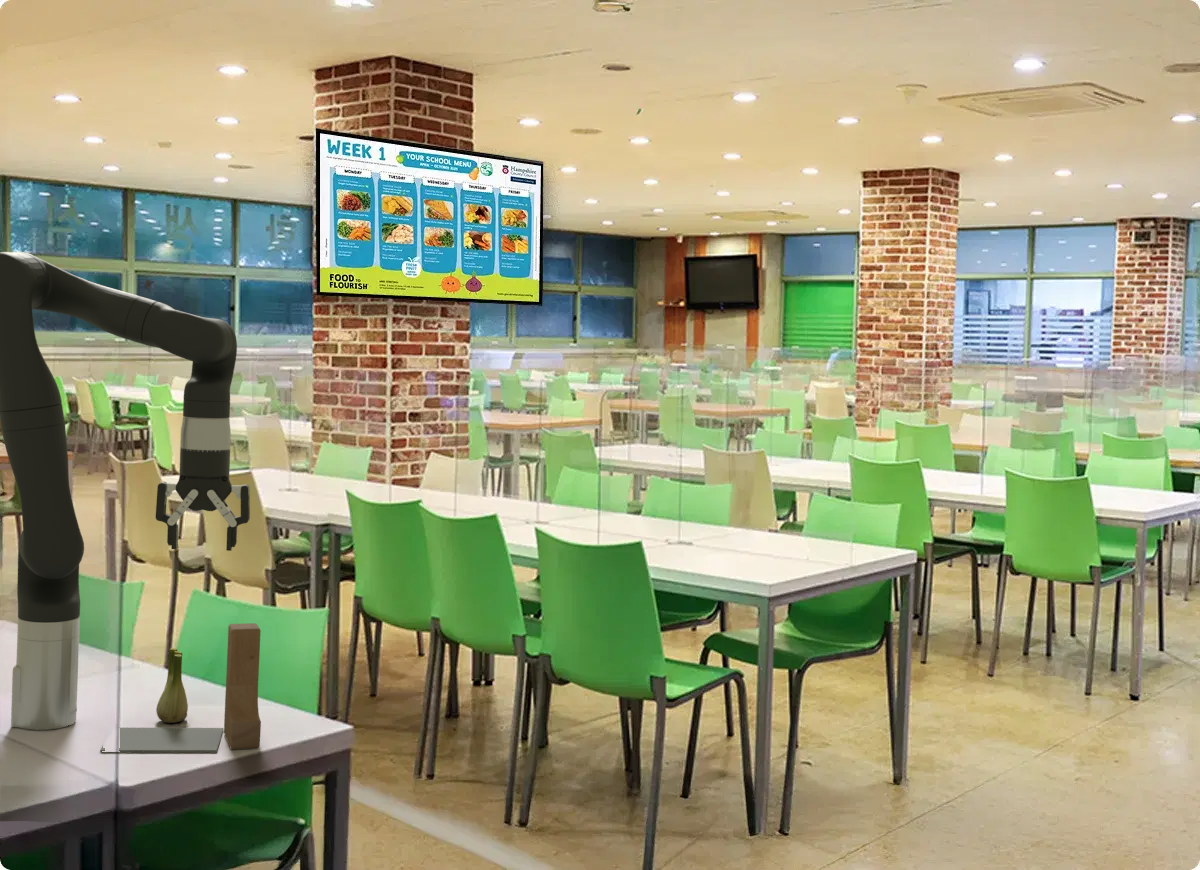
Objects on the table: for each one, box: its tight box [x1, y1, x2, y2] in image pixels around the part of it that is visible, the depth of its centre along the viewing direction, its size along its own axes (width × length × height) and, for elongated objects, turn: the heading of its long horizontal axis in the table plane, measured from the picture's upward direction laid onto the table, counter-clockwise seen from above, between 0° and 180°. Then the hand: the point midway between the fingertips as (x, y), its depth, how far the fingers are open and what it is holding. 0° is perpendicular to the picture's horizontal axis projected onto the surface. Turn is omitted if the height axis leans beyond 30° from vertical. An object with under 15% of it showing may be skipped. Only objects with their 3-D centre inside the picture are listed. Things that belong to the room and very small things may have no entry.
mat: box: [99, 727, 224, 754], centre depth 211 cm, size 17×12×1 cm
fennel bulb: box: [155, 647, 189, 724], centre depth 221 cm, size 6×5×12 cm
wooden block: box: [223, 623, 262, 751], centre depth 212 cm, size 9×4×18 cm, turn 22°
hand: (202, 549), depth 211 cm, fingers open, 8 cm apart
